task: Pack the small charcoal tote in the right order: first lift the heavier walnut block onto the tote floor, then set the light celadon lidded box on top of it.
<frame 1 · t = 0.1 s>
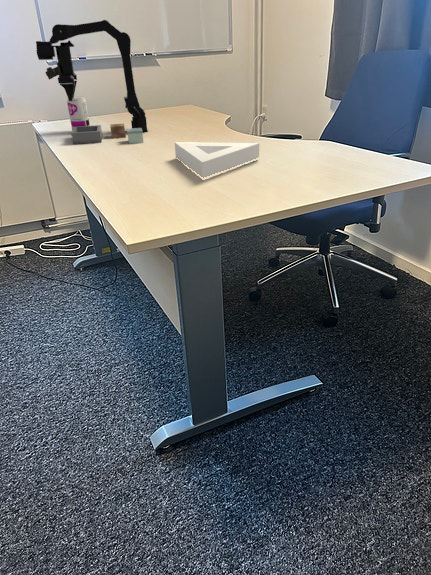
hand: (71, 99, 188), 15 cm above the table, fingers open, 8 cm apart
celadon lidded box: (135, 142, 181), on the table
walnut block: (118, 136, 191), on the table
tote: (88, 139, 187), on the table
triangle block: (224, 166, 147), on the table
supplement can: (81, 132, 202), on the table, touching gripper
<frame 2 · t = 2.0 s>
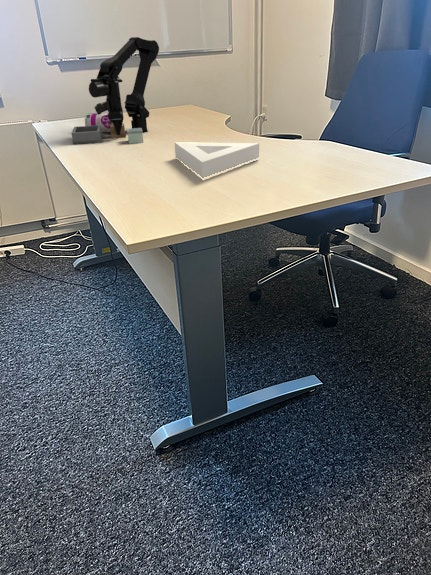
hand: (118, 133, 190), 1 cm above the table, fingers open, 8 cm apart
supplement can: (87, 122, 199), point 4 cm above the table, touching gripper
everything else where it was.
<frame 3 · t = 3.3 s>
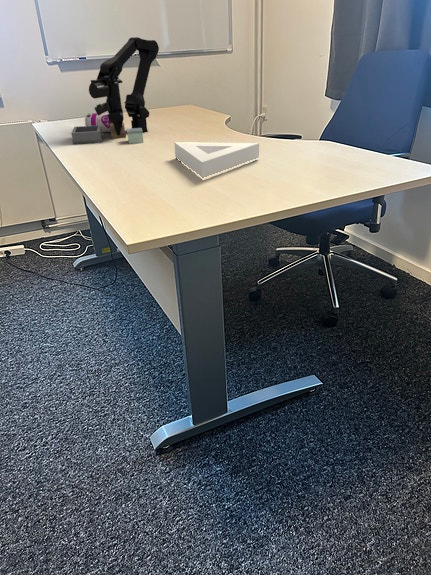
hand: (118, 133, 191), 1 cm above the table, fingers closed on walnut block, 6 cm apart
walnut block: (118, 136, 191), on the table, touching gripper
supplement can: (87, 122, 200), point 4 cm above the table
everything else where it was.
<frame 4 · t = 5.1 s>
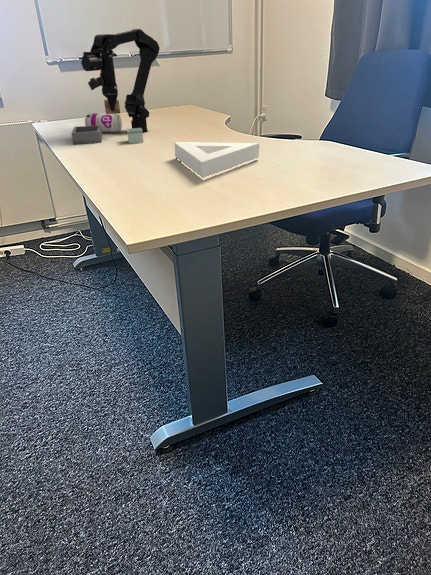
hand: (112, 110, 185), 11 cm above the table, fingers closed on walnut block, 6 cm apart
walnut block: (113, 112, 186), point 10 cm above the table, touching gripper
everything else where it was.
when the fingers open (4 cm above the table, at t = 8.0 s): walnut block drops 2 cm, resting on tote.
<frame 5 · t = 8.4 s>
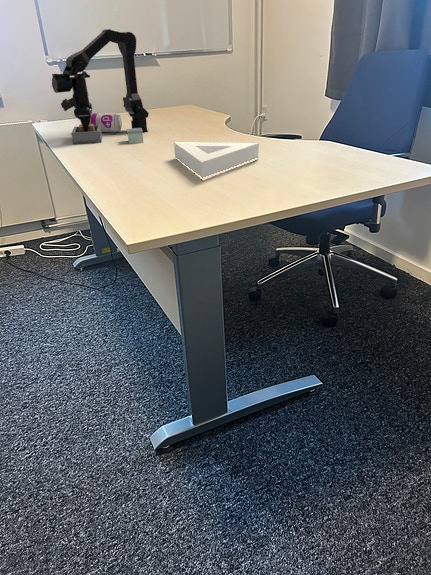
hand: (86, 130, 185), 4 cm above the table, fingers open, 9 cm apart
walnut block: (88, 137, 186), point 1 cm above the table, touching tote
everything else where it was.
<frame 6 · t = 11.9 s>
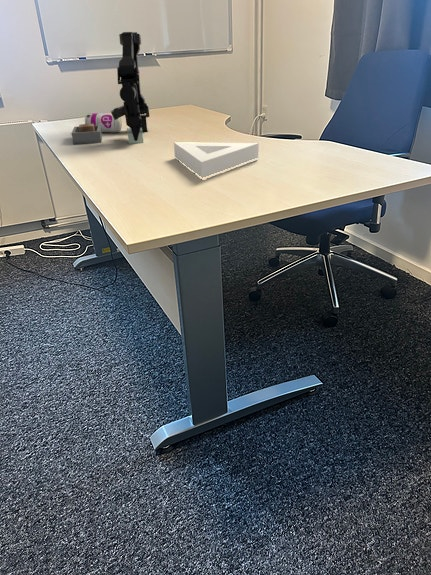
hand: (135, 139, 181), 1 cm above the table, fingers closed on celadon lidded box, 6 cm apart
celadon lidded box: (135, 141, 181), on the table, touching gripper
everything else where it was.
when the fingers open (9 cm above the table, at t = 16.5 s): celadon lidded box drops 1 cm, resting on walnut block.
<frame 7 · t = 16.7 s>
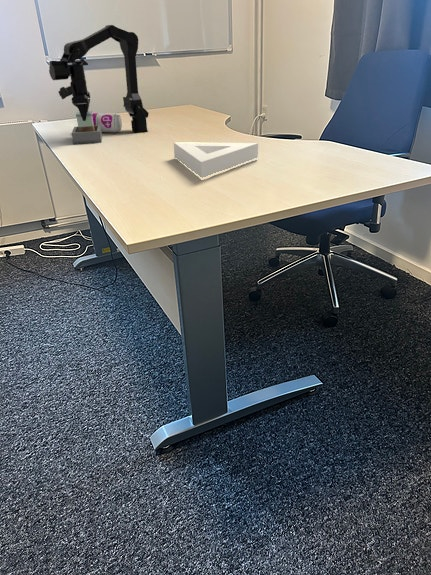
hand: (85, 119, 182), 9 cm above the table, fingers open, 8 cm apart
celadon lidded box: (86, 125, 183), point 6 cm above the table, touching walnut block
walnut block: (88, 137, 186), point 1 cm above the table, touching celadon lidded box, tote
everything else where it was.
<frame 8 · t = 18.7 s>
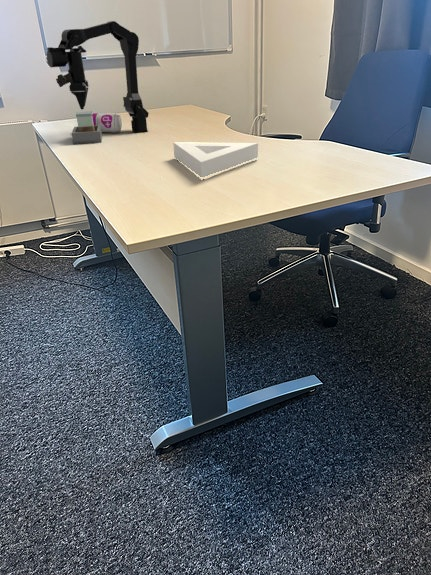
hand: (83, 107, 180), 13 cm above the table, fingers open, 9 cm apart
nothing on the table moved.
at the end: walnut block 0.0 cm off-centre on the tote, point 1.0 cm above the tote's base; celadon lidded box 0.0 cm off-centre on the walnut block, point 5.0 cm above the walnut block's base; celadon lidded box tilted 0° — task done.
